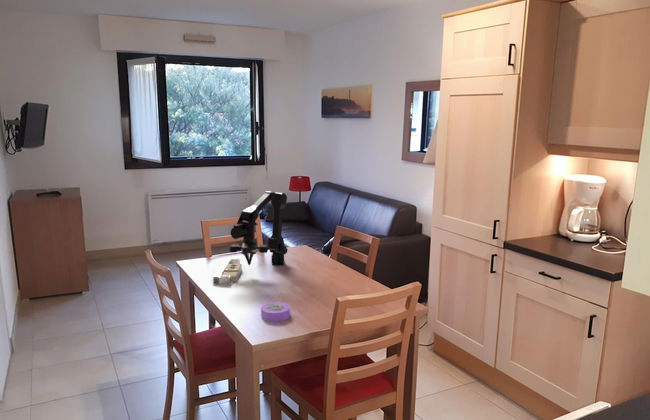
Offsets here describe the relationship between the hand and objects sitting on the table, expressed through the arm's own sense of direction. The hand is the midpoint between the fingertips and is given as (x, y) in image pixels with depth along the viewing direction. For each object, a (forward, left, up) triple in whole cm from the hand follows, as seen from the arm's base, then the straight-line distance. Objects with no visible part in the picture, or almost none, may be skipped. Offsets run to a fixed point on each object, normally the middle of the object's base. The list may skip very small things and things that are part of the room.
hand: (249, 264), depth 245 cm
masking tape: (-18, +51, -6) cm, 54 cm away
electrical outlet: (+9, +2, -6) cm, 11 cm away
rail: (+11, 0, -5) cm, 13 cm away
